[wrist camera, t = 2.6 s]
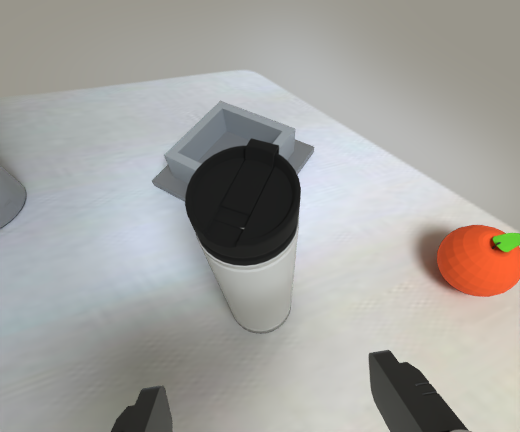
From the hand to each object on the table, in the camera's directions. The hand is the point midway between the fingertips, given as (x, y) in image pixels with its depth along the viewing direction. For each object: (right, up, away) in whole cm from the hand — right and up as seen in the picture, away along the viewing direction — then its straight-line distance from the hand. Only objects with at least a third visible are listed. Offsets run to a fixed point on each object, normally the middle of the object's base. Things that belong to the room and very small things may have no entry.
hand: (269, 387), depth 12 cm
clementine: (+22, +1, +21) cm, 30 cm away
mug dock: (-4, +13, +31) cm, 34 cm away
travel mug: (0, -2, +21) cm, 21 cm away
